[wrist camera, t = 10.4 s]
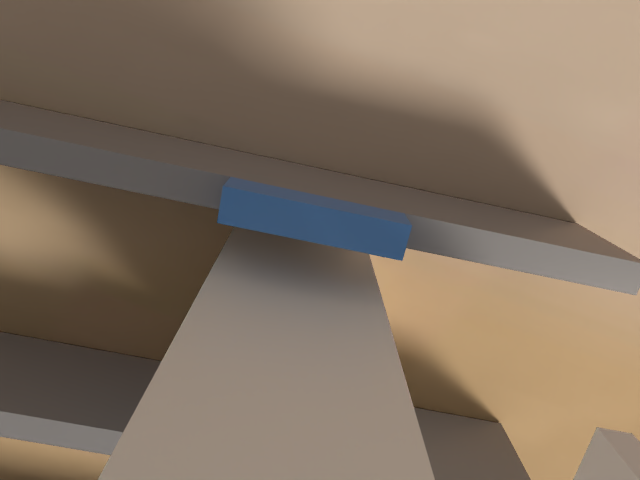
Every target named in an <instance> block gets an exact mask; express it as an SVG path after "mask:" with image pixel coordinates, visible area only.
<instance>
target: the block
mask: <svg viewBox="0 0 640 480" xmlns="http://www.w3.org/2000/svg"><path fill="white" fill-rule="evenodd" d="M98 480H435V478H434V475H433V472H432V468H431V465H430V461H429V458H428V454H427V451H426V448H425V444H424V441H423V437H422V434H421V430H420V427H419V424H418V420H417V417H416V413H415V410H414V406H413V403H412V400H411V396H410V393H409V389H408V386H407V382H406V379H405V375H404V372H403V369H402V365H401V362H400V358H399V355H398V351H397V348H396V345H395V341H394V338H393V334H392V331H391V327H390V324H389V321H388V317H387V314H386V310H385V307H384V303H383V300H382V297H381V293H380V290H379V286H378V283H377V279H376V276H375V273H374V269H373V266H372V262H371V259H370V255H369V254H367V253H362V252H357V251H352V250H347V249H342V248H337V247H332V246H328V245H323V244H318V243H313V242H308V241H303V240H298V239H293V238H288V237H283V236H278V235H274V234H269V233H264V232H259V231H254V230H249V229H244V228H239V227H234V228H233V230H232V232H231V233H230V235H229V237H228V239H227V241H226V243H225V245H224V246H223V248H222V250H221V252H220V254H219V256H218V257H217V259H216V261H215V263H214V265H213V267H212V269H211V270H210V272H209V274H208V276H207V278H206V280H205V282H204V283H203V285H202V287H201V289H200V291H199V293H198V295H197V296H196V298H195V300H194V302H193V304H192V306H191V308H190V309H189V311H188V313H187V315H186V317H185V319H184V321H183V322H182V324H181V326H180V328H179V330H178V332H177V333H176V335H175V337H174V339H173V341H172V343H171V345H170V346H169V348H168V350H167V352H166V354H165V356H164V358H163V359H162V361H161V363H160V365H159V367H158V369H157V371H156V372H155V374H154V376H153V378H152V380H151V382H150V384H149V385H148V387H147V389H146V391H145V393H144V395H143V397H142V398H141V400H140V402H139V404H138V406H137V408H136V410H135V411H134V413H133V415H132V417H131V419H130V421H129V422H128V424H127V426H126V428H125V430H124V432H123V434H122V435H121V437H120V439H119V441H118V443H117V445H116V447H115V448H114V450H113V452H112V454H111V456H110V458H109V460H108V461H107V463H106V465H105V467H104V469H103V471H102V473H101V474H100V476H99V478H98Z"/></svg>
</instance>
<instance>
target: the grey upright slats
mask: <svg viewBox="0 0 640 480" xmlns="http://www.w3.org/2000/svg"><path fill="white" fill-rule="evenodd" d="M0 165H5V166H10V167H15V168H19V169H24V170H29V171H34V172H39V173H44V174H49V175H53V176H58V177H63V178H68V179H73V180H78V181H83V182H88V183H92V184H97V185H102V186H107V187H112V188H117V189H122V190H126V191H131V192H136V193H141V194H146V195H151V196H156V197H160V198H165V199H170V200H175V201H180V202H185V203H190V204H194V205H199V206H204V207H209V208H214V209H219V213H218V219H217V223H220V224H224V225H229V226H234V227H239V228H244V229H249V230H254V231H259V232H264V233H269V234H274V235H278V236H283V237H288V238H293V239H298V240H303V241H308V242H313V243H318V244H323V245H328V246H332V247H337V248H342V249H347V250H352V251H357V252H362V253H367V254H372V255H377V256H382V257H386V258H391V259H396V260H401V261H402V260H403V256H404V253H405V249H406V248H408V249H413V250H418V251H423V252H428V253H433V254H438V255H442V256H447V257H452V258H457V259H462V260H467V261H472V262H476V263H481V264H486V265H491V266H496V267H501V268H506V269H510V270H515V271H520V272H525V273H530V274H535V275H540V276H545V277H549V278H554V279H559V280H564V281H569V282H574V283H579V284H583V285H588V286H593V287H598V288H603V289H608V290H613V291H617V292H622V293H627V294H632V295H637V292H638V290H639V288H640V259H638V258H637V257H635V256H633V255H631V254H630V253H628V252H626V251H624V250H623V249H621V248H619V247H617V246H616V245H614V244H612V243H611V242H609V241H607V240H605V239H604V238H602V237H600V236H598V235H597V234H595V233H593V232H591V231H590V230H588V229H586V228H584V227H583V226H581V225H579V224H577V223H572V222H567V221H563V220H558V219H553V218H549V217H544V216H539V215H535V214H530V213H525V212H521V211H516V210H511V209H507V208H502V207H497V206H493V205H488V204H483V203H479V202H474V201H469V200H465V199H460V198H455V197H451V196H446V195H441V194H437V193H432V192H427V191H423V190H418V189H413V188H409V187H404V186H399V185H395V184H390V183H385V182H381V181H376V180H371V179H367V178H362V177H357V176H353V175H348V174H343V173H339V172H334V171H329V170H325V169H320V168H315V167H311V166H306V165H301V164H297V163H292V162H287V161H283V160H278V159H274V158H269V157H264V156H260V155H255V154H250V153H246V152H241V151H236V150H232V149H227V148H222V147H218V146H213V145H208V144H204V143H199V142H194V141H190V140H185V139H180V138H176V137H171V136H166V135H162V134H157V133H152V132H148V131H143V130H138V129H134V128H129V127H124V126H120V125H115V124H110V123H106V122H101V121H96V120H92V119H87V118H82V117H78V116H73V115H68V114H64V113H59V112H54V111H50V110H45V109H40V108H36V107H31V106H26V105H22V104H17V103H12V102H8V101H3V100H0ZM160 363H161V361H157V360H152V359H146V358H141V357H135V356H130V355H124V354H119V353H113V352H108V351H102V350H97V349H91V348H86V347H81V346H75V345H70V344H64V343H59V342H53V341H48V340H42V339H37V338H31V337H26V336H20V335H15V334H9V333H4V332H0V437H6V438H12V439H18V440H24V441H30V442H36V443H41V444H47V445H53V446H59V447H65V448H71V449H77V450H83V451H89V452H95V453H101V454H107V455H111V454H112V452H113V450H114V448H115V447H116V445H117V443H118V441H119V439H120V437H121V435H122V434H123V432H124V430H125V428H126V426H127V424H128V422H129V421H130V419H131V417H132V415H133V413H134V411H135V410H136V408H137V406H138V404H139V402H140V400H141V398H142V397H143V395H144V393H145V391H146V389H147V387H148V385H149V384H150V382H151V380H152V378H153V376H154V374H155V372H156V371H157V369H158V367H159V365H160ZM414 410H415V413H416V417H417V420H418V424H419V427H420V430H421V434H422V437H423V441H424V444H425V448H426V451H427V454H428V458H429V461H430V465H431V468H432V472H433V475H434V478H435V480H530V478H529V476H528V474H527V472H526V470H525V468H524V466H523V464H522V462H521V461H520V459H519V457H518V455H517V453H516V451H515V449H514V447H513V445H512V444H511V442H510V440H509V438H508V436H507V434H506V432H505V430H504V428H503V426H502V425H501V423H496V422H491V421H485V420H480V419H474V418H469V417H463V416H458V415H452V414H447V413H441V412H436V411H430V410H425V409H420V408H414Z"/></svg>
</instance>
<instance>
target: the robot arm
mask: <svg viewBox="0 0 640 480" xmlns="http://www.w3.org/2000/svg"><path fill="white" fill-rule="evenodd" d="M573 480H640V442H639V441H638V440H637V438H636V437H635V436H634V435H633V434H632V433H626V432H621V431H615V430H609V429H604V428H598V427H597V428H596V430H595V433H594V435H593V437H592V439H591V441H590V444H589V446H588V448H587V450H586V453H585V455H584V457H583V459H582V461H581V464H580V466H579V468H578V470H577V472H576V475H575V477H574V479H573Z"/></svg>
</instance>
